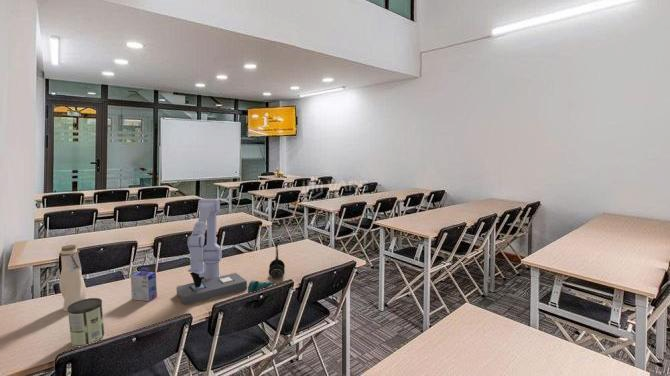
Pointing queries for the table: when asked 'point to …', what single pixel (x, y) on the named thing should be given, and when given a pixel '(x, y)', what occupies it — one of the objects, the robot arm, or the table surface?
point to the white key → (225, 280)
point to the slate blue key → (197, 287)
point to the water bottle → (71, 276)
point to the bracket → (259, 285)
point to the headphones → (276, 266)
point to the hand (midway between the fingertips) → (197, 286)
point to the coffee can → (86, 321)
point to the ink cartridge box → (143, 285)
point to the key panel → (211, 289)
